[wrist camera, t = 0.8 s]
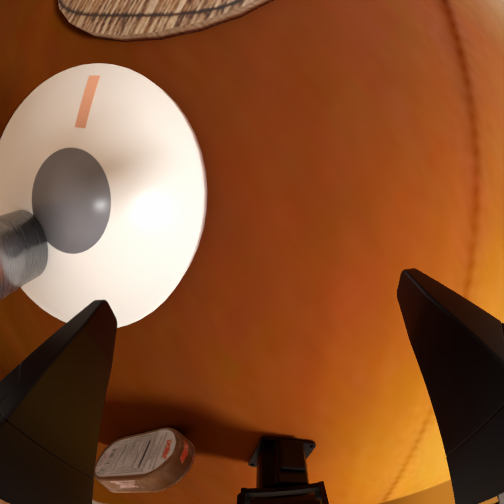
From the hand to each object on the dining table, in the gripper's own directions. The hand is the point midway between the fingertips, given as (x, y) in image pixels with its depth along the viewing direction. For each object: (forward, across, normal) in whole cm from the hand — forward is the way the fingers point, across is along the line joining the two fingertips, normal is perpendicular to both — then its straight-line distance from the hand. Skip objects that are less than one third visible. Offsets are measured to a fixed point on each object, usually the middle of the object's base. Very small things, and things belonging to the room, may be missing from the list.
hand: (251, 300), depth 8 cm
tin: (+6, +16, +27) cm, 32 cm away
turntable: (+14, +14, 0) cm, 20 cm away
